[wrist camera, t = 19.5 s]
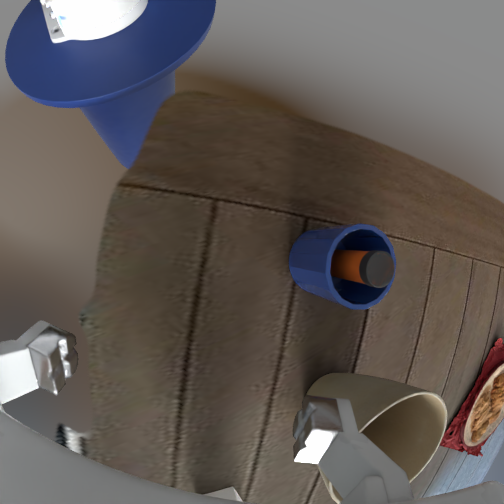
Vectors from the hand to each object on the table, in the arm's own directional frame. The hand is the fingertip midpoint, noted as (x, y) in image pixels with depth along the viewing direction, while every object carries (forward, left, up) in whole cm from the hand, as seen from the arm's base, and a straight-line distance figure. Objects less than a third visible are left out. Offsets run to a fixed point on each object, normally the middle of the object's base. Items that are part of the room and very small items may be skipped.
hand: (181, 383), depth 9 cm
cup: (+9, +14, -25) cm, 30 cm away
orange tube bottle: (+9, +14, -24) cm, 29 cm away
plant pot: (+25, +4, -25) cm, 36 cm away
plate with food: (+65, +28, -25) cm, 75 cm away
